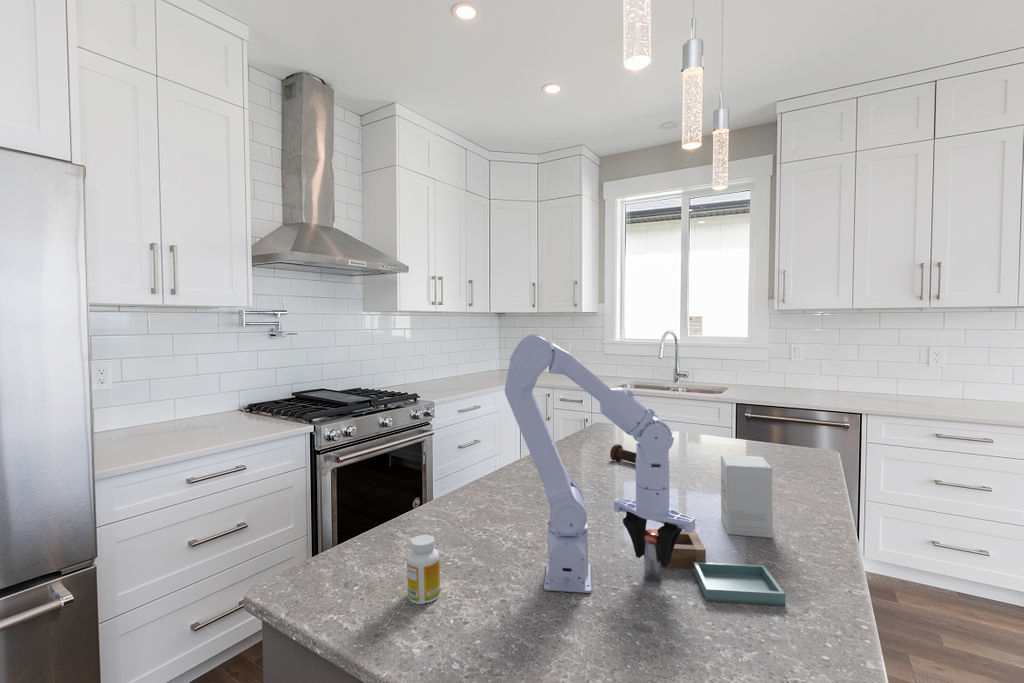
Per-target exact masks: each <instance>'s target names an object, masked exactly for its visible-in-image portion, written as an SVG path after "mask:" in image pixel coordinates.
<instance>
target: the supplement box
mask: <svg viewBox="0 0 1024 683" xmlns="http://www.w3.org/2000/svg"><path fill="white" fill-rule="evenodd" d="M773 514H774V513H773V468H772V466H771V465H769V463H768V462H767V461H766V459H765V458H764V457H763V456H755V455H754V456H751V455H750V456H748V455H727V454H721V455H720V518H721V521H722V524H723V527H724V529H725V531H726V534H727V535H731V536H732V535H733V536H734V535H735V536H744V537H756V538H767V539H773V538H774V533H773V531H774V530H773V529H774V528H773V527H774V526H773V524H774V523H773V520H774V519H773V518H774V517H773Z"/></svg>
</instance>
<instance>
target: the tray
mask: <svg viewBox="0 0 1024 683" xmlns="http://www.w3.org/2000/svg"><path fill="white" fill-rule="evenodd" d="M692 569H693V574H694V577H695V579H696V581H697V584H698V586H699V588H700V590H701V592H702V594H703V597H704V599H705V601H706V602H710V603H711V602H713V603H727V604H728V603H729V604H746V605H747V604H749V605H762V606H778V607H779V606H780V607H786V593H785V592H784V590H783V588H781V586H780V584H778V582H777V581H776V580H775V578H774V577H773V576H772V574H771V573H770V571H769V570H768V569H767V567H766V565H764V564H747V563H746V564H744V563H727V562H726V563H725V562H707V561H706V562H693V568H692Z"/></svg>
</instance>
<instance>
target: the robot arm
mask: <svg viewBox="0 0 1024 683" xmlns="http://www.w3.org/2000/svg"><path fill="white" fill-rule="evenodd" d="M546 369H548V373H549V374H552V375H553V374H555V375H563V376H566V377H567V378H568V379H569V380H571V381H572V382H574V383H575V384H576V385H577V386H578V387H580V388H581V389H583V390H584V391H585V392H586V393H587V394H589V395H590V396H592V397H593V398H594V399H595V400H597V401H598V402H599V411H600V413H601V414H602V415H603V416H604V417H606V418H607V419H608V420H610V422H612V423H613V424H614V425H615V426H617V428H619V429H620V430H621V431H623V432H624V433H625V434H626V435H627V436H632V437H633V439H634V440H635V442H637V443H635V444H636V451H635V453H636V463H635V500H633V499H626V498H620V497H619V498H617V499H614V500H613V511H614V512H616V513H620V512H623V513H625V517H623V518H622V524H623V525H624V527H625V529H626V530H627V533H628V535H629V536H630V540H631V542H632V545H633V549H634V554H635V557H636V558H638V559H640V558H641V557H644V540H643V531H645V530H647V523H648V521H654V522H657V523H661V524H663V525H662V526H661V527H659V528H657V529H658V535H659V540H660V546H661V566H663V567H662V568H667V567H666V566H667V565H669V564H670V560H671V556H672V552H673V548H674V546H675V543H676V541H677V538H678V537H679V535H680V533H681V531H682V530H685V532H688V533H691V532H693V531H696V518H695V517H692V516H688V515H687V514H685V513H682V512H679V511H677V510H675V509H674V508H673V509H672V508H670V459H669V453H670V451H669V450H670V449H671V448H672V447H673V444H674V440H675V438H674V436H673V434H672V431H671V429H670V427H669V426H668V425H667V424H666V423H665V422H664V421H663V420H662V419H661V418H659V416H658V415H657V414H656V412H655V411H654V410H653V409H652V408H651V407H649V408H647V407H646V406H644V405H643V404H642V403H641V402H639V400H637V399H636V398H635V393H634V392H633V391H631V390H630V389H627V390H625V389H624V388H623V387H609V386H608V385H607V384H606V383H605V382H603V380H601V379H600V378H599V377H598V376H597V375H596V374H595V373H593V372H592V371H591V370H590V369H589V368H587V367H586V366H585V365H584V364H583V363H582V362H581V361H579V360H578V359H577V358H576V357H574V355H572V354H571V353H570V352H568V351H567V350H565V349H563V348H562V347H560V346H559V345H557V344H555V343H553V342H552V343H550V341H549V340H548V339H547V338H546V337H545V336H544V335H541V334H529V335H527V336H526V337H523V338H522V339H521V340H520V341H519V342H518V344H517V345H516V347H515V349H514V350H513V352H512V354H511V355H510V358H509V366H508V371H507V376H506V379H505V380H506V381H505V385H504V394H505V397H506V399H507V403H508V405H509V407H510V409H511V411H512V413H513V416H514V419H515V422H516V423H517V425H518V428H519V429H520V430H519V431H520V433H521V435H522V438H523V440H524V442H525V444H526V447H527V449H528V452H529V453H530V456H531V458H532V462H533V463H534V466H535V468H536V470H537V473H538V475H539V477H540V480H541V482H542V485H543V488H544V494H545V498H546V500H547V503H548V505H549V509H550V512H549V520H547V561H546V562H547V563H546V569H545V577H544V585H543V589H544V590H545V591H553V592H569V593H584V594H585V593H587V594H590V593H591V592H592V576H591V572H592V571H591V563H590V562H589V526H588V523H587V522H588V521H587V520H588V515H587V514H588V513H587V511H586V508H585V505H584V495H583V492H582V491H581V489H580V487H578V486H577V485H576V484H575V483H574V482H573V481H572V479H571V477H570V475H569V472H568V471H567V470H566V467H565V465H564V463H563V461H562V458H561V456H560V453H559V451H558V449H557V446H556V444H555V442H554V439H553V437H552V435H551V432H550V430H549V427H548V424H547V422H546V421H545V418H544V415H543V413H542V411H541V408H540V406H539V403H538V402H537V399H536V396H535V394H534V392H533V391H534V388H535V387H536V383H537V381H538V378H539V377H540V376H541V375H542V373H544V371H545V370H546Z"/></svg>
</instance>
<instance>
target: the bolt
mask: <svg viewBox="0 0 1024 683" xmlns="http://www.w3.org/2000/svg"><path fill="white" fill-rule="evenodd" d="M609 454H610V455H609V456H610V460H618V461H622V460H623V461H626V462H630V463H633V464H636V452H634V451H629V450H626V449H624V447H623V446H622V444H618V443H617V444H614V445H612V447H611V448H610V453H609ZM619 459H621V460H619Z"/></svg>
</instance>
